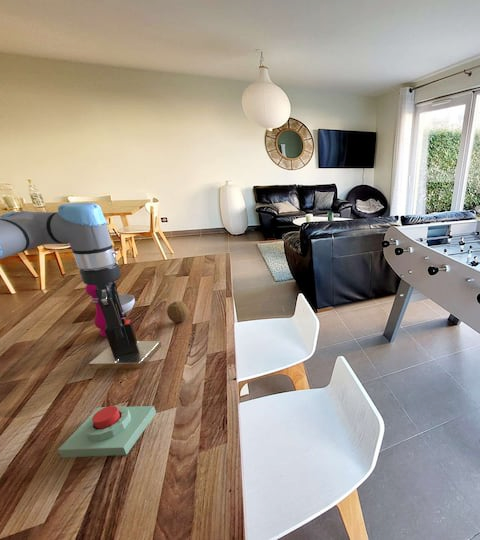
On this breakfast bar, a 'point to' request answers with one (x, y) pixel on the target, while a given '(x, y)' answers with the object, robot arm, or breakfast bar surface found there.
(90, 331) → the breakfast bar surface
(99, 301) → the robot arm
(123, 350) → the black rectangular block
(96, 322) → the pepper mill
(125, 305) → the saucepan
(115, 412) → the button
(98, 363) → the shiny metal plate
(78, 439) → the block
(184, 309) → the fruit
